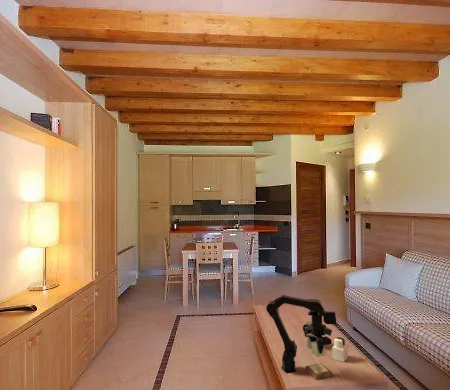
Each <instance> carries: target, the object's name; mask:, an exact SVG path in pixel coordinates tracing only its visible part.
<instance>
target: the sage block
mask: <svg viewBox="0 0 450 390" xmlns="http://www.w3.org/2000/svg"><path fill="white" fill-rule="evenodd" d="M316 342H318V341H315V342H311V345H312V349H311V354H312V355H314V356H315V357H317V358H318V357H323V356H326V355H325V347H324V348H323V351H322V353H321V354H320V353H319V350H318V347H317V343H316Z"/></svg>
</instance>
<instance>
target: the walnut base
mask: <svg viewBox="0 0 450 390" xmlns="http://www.w3.org/2000/svg"><path fill="white" fill-rule="evenodd" d="M305 371H306V372H307V373H308V374H309V375H310V376H311V377H312V378H314V379H315V380H320V379H324V378H331V377H333V371H331V370H330V369H329V368H328V367H327V366H325V365H324V364H323V363H322V362H321V363H315V364H310V365H305Z"/></svg>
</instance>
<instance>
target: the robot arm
mask: <svg viewBox="0 0 450 390" xmlns="http://www.w3.org/2000/svg"><path fill="white" fill-rule="evenodd" d="M284 304H286V305H290V306H297V307H302V308H304V309H307V310H309V311H308V312H307V315H308V316H311V319H312V320H311V321H312V324H310V326H311V327H310V328H306V327H305V330H304V331H303V334H304V333H305V334H306V335H307V336H308V338H309V340H310V341H311V342H315V341H317V338H318V342H316V343H317V347H318V350H319V353H320V354H321V353H322V351H323V348H324V349H325V346H328V345H329V346H330V345H332V344H333V343H332V338H330V337H331V336H332V333H333V330H332V328H329V327H327V325H332V326H333V325H337V317H336V312H335V311H326V310H325V308H324V307H323V304H322V301H321V300H319V299H318V298H308V299H306V298H301V297H295V296H289V295H286V294H281V295H280V296H279V297H277V298H275V299H274V300H270V301H268V302H267V305H266V308H265V309H266V312H267V313H268V314H269V317H271V318H272V320H273V321H274V324H275V326H276V328H277V331H278V334H279V336H280V338H281V340H282V343H283V347H284V348H283V349H284V350H283V353H282V357H281V363H282V364H281V370H282V371H283V372H284V373H285V374H287V373H289V374H290V373H293V372H297V369H296V361H295V358H297V357H296V356H297V351H298V346H297V344H296V341H295V339H293V340H292V339H291V338H290V336H289V333H288V331H287V329H286V327H285V325H284V322H283V320H282V317H281V315H280V311H279V308H280V307H282V305H284ZM308 333H309V335H308ZM305 334H304V335H305Z"/></svg>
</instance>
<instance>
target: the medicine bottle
mask: <svg viewBox="0 0 450 390" xmlns="http://www.w3.org/2000/svg"><path fill="white" fill-rule="evenodd" d="M333 341H334V343H333V344H334V345H333V346H332V347H331V356H332V357H331V358H332V360H335V361H339V362H342V363H345V361H346V360H348V358H349V351H348V346H347V345H346V342H345V341H346V340H345V339H344V338H343V337H342V336H341V337H338V336H337V337H334V338H333Z"/></svg>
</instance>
